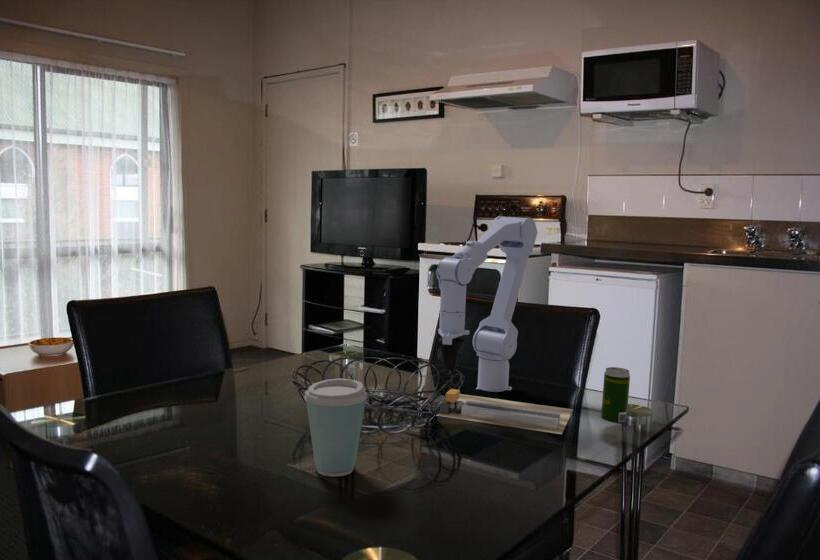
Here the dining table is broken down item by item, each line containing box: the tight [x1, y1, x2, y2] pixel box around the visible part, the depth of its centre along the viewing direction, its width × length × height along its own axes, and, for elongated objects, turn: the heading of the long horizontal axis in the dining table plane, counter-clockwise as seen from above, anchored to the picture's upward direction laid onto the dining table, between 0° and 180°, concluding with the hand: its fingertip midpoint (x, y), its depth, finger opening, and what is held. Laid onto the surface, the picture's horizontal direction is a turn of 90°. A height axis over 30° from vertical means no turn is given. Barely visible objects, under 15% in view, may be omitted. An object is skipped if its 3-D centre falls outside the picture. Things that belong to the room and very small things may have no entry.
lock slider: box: [445, 388, 461, 402], centre depth 155 cm, size 4×2×2 cm, turn 160°
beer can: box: [600, 366, 631, 423], centre depth 155 cm, size 5×5×12 cm
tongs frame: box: [432, 394, 559, 430], centre depth 152 cm, size 6×27×2 cm, turn 70°
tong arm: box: [454, 400, 561, 424], centre depth 152 cm, size 3×22×2 cm, turn 72°
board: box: [436, 393, 574, 435], centre depth 157 cm, size 19×28×1 cm
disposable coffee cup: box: [303, 377, 368, 478], centre depth 121 cm, size 11×11×15 cm
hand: (450, 369), depth 163 cm, fingers closed
